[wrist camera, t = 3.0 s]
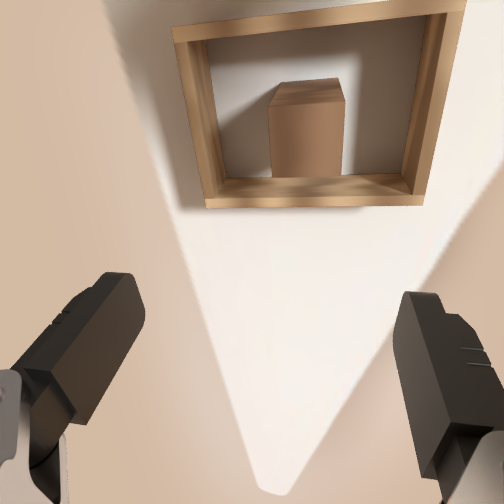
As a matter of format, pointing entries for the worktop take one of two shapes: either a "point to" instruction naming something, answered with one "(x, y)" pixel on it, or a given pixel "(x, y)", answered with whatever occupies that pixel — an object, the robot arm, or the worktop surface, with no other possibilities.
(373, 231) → the worktop surface
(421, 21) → the worktop surface
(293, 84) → the walnut block
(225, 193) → the caddy
